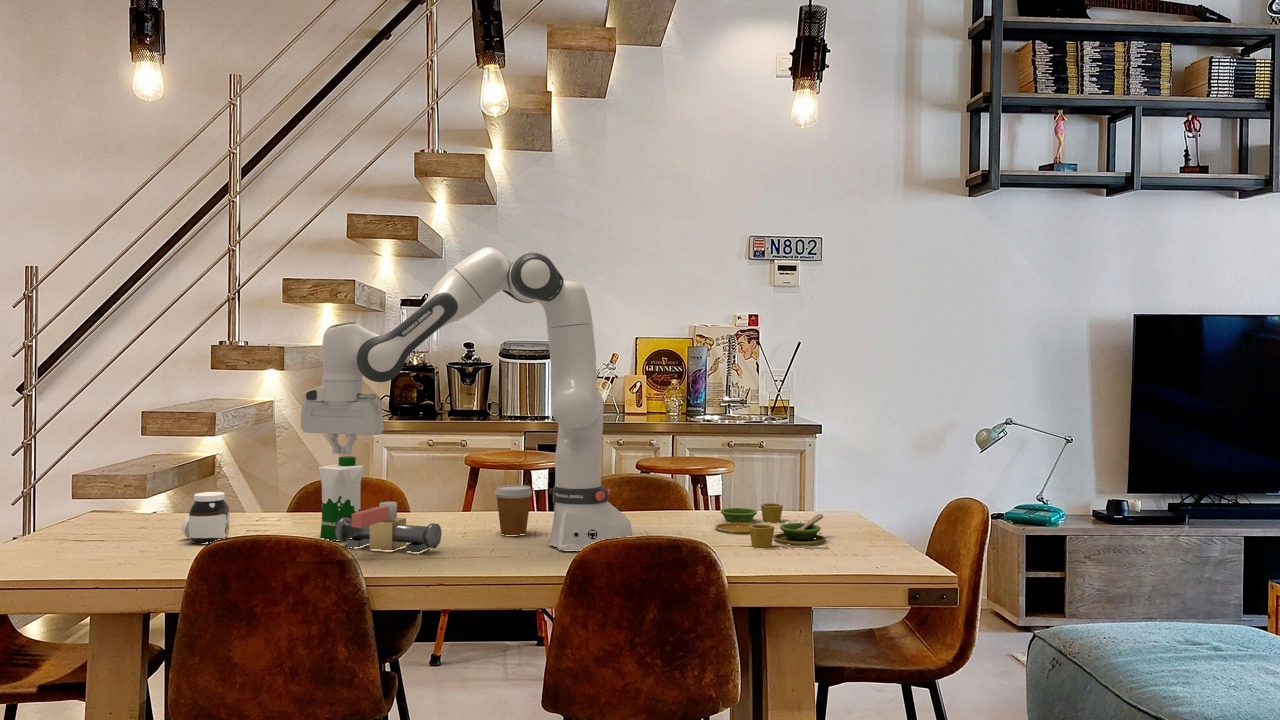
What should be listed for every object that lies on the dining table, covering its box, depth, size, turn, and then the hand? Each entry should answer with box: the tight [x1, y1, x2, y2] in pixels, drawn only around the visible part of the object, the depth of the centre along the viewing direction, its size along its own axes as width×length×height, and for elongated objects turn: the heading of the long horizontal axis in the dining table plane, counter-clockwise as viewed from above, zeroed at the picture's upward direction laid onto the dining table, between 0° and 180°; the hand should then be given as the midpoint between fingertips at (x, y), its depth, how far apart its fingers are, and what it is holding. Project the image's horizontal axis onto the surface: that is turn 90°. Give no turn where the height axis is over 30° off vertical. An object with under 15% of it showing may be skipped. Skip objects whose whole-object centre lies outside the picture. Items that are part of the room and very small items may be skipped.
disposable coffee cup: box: [494, 484, 533, 535], centre depth 243 cm, size 10×10×12 cm
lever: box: [352, 501, 398, 528], centre depth 219 cm, size 14×4×4 cm, turn 162°
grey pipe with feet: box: [335, 517, 442, 552], centre depth 225 cm, size 25×6×7 cm, turn 72°
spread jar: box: [180, 491, 231, 544], centre depth 234 cm, size 12×11×12 cm
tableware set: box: [714, 502, 829, 550], centre depth 247 cm, size 41×28×6 cm
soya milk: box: [318, 455, 364, 543], centre depth 237 cm, size 9×9×20 cm
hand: (342, 453), depth 219 cm, fingers closed
